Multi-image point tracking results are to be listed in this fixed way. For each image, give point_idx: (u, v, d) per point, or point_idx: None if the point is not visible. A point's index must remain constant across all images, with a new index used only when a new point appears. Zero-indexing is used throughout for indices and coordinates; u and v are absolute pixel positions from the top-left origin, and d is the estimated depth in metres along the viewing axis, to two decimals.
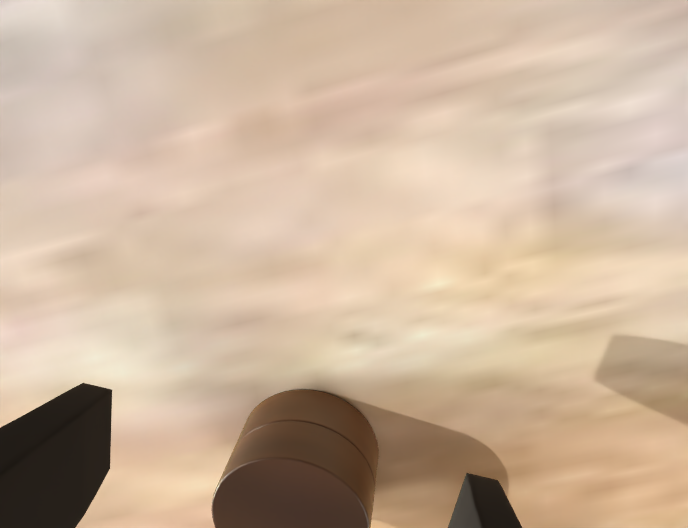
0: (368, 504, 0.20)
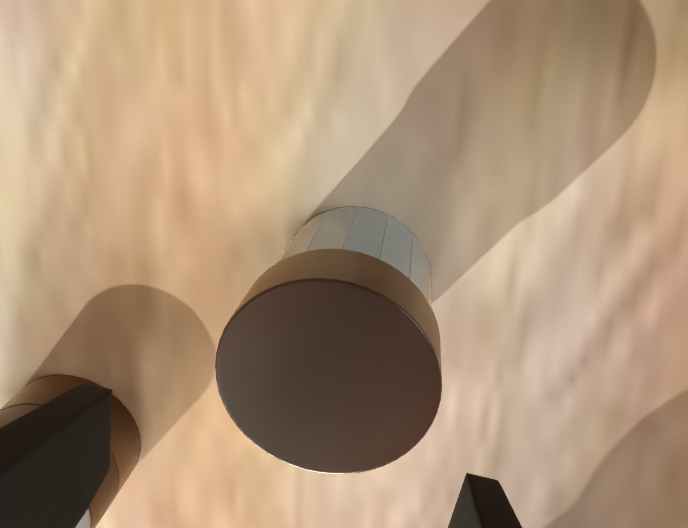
0: None
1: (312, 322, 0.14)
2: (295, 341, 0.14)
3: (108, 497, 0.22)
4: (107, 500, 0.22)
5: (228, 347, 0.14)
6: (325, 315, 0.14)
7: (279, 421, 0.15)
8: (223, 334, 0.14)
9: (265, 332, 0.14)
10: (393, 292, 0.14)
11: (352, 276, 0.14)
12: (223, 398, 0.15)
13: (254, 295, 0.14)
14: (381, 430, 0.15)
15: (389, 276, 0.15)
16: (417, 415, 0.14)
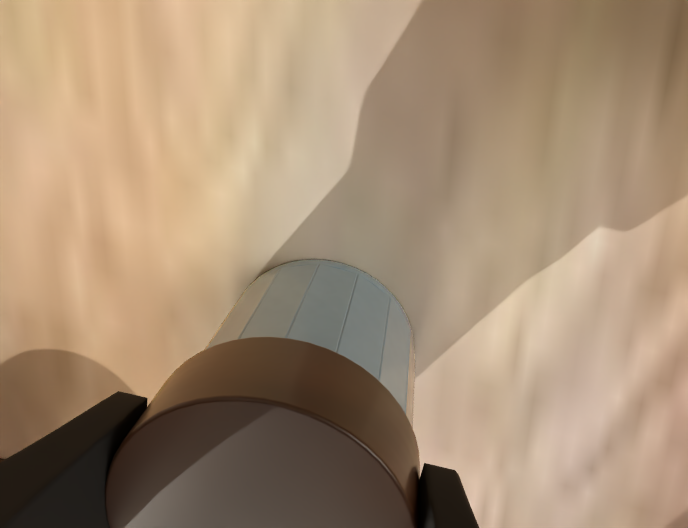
0: None
1: (233, 454, 0.10)
2: (211, 477, 0.10)
3: None
4: None
5: (119, 482, 0.10)
6: (250, 445, 0.10)
7: None
8: (111, 465, 0.10)
9: (169, 464, 0.10)
10: (348, 411, 0.10)
11: (288, 390, 0.10)
12: None
13: (151, 415, 0.10)
14: None
15: (345, 381, 0.10)
16: None
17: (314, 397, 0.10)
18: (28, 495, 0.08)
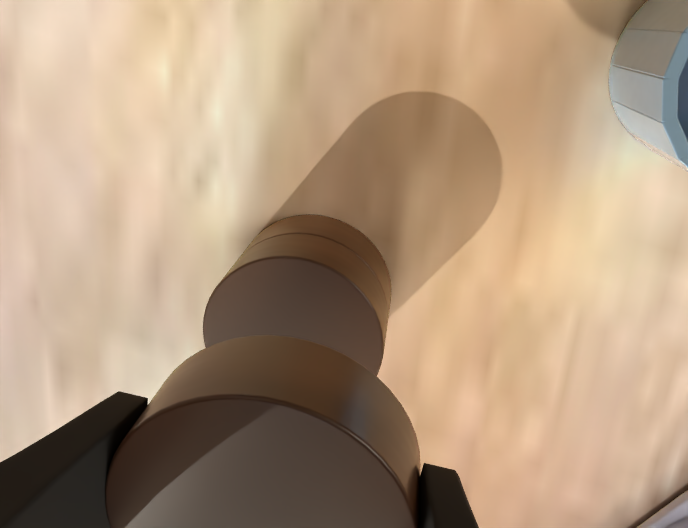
0: (307, 252, 0.17)
1: (233, 453, 0.10)
2: (211, 476, 0.10)
3: None
4: None
5: (119, 480, 0.10)
6: (251, 444, 0.10)
7: None
8: (112, 464, 0.10)
9: (169, 463, 0.10)
10: (348, 409, 0.10)
11: (289, 388, 0.10)
12: None
13: (151, 413, 0.10)
14: None
15: (346, 380, 0.10)
16: None
17: (315, 395, 0.10)
18: (28, 495, 0.08)
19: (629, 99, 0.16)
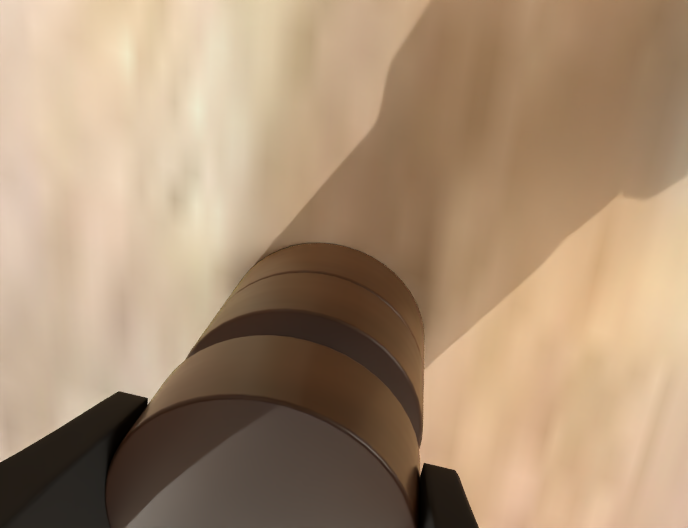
0: (318, 303, 0.13)
1: (233, 453, 0.10)
2: (211, 475, 0.10)
3: None
4: None
5: (119, 480, 0.10)
6: (251, 443, 0.10)
7: None
8: (111, 464, 0.10)
9: (169, 463, 0.10)
10: (348, 409, 0.10)
11: (289, 388, 0.10)
12: None
13: (151, 413, 0.10)
14: None
15: (346, 380, 0.10)
16: None
17: (314, 395, 0.10)
18: (28, 496, 0.08)
19: None
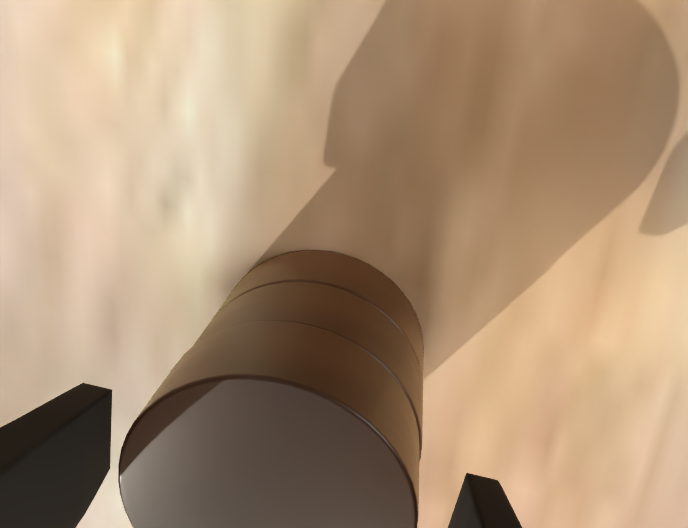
0: (313, 314, 0.12)
1: (241, 431, 0.10)
2: (221, 453, 0.10)
3: None
4: None
5: (132, 458, 0.11)
6: (259, 422, 0.10)
7: None
8: (125, 442, 0.11)
9: (181, 441, 0.11)
10: (351, 389, 0.10)
11: (294, 369, 0.10)
12: (132, 520, 0.11)
13: (163, 393, 0.10)
14: None
15: (348, 362, 0.11)
16: None
17: (319, 376, 0.10)
18: None
19: None
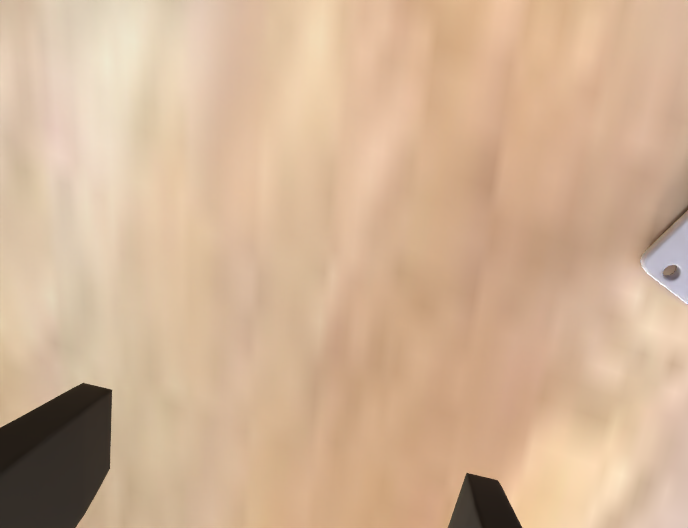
0: None
1: None
2: None
3: None
4: None
5: None
6: None
7: None
8: None
9: None
10: None
11: None
12: None
13: None
14: None
15: None
16: None
17: None
18: None
19: None
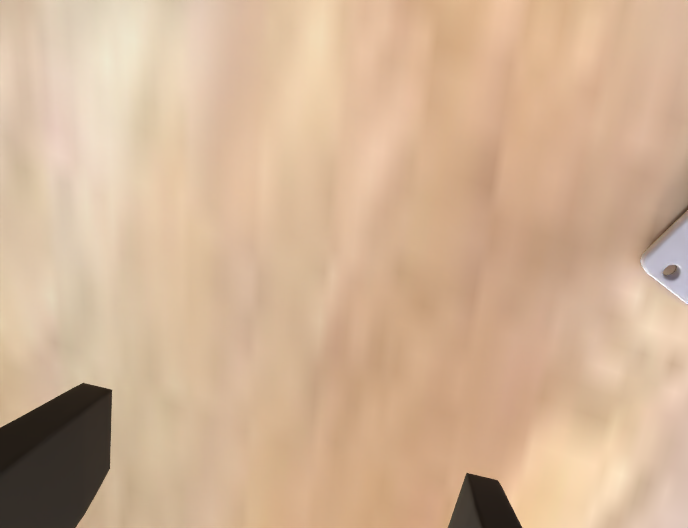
0: None
1: None
2: None
3: None
4: None
5: None
6: None
7: None
8: None
9: None
10: None
11: None
12: None
13: None
14: None
15: None
16: None
17: None
18: None
19: None
